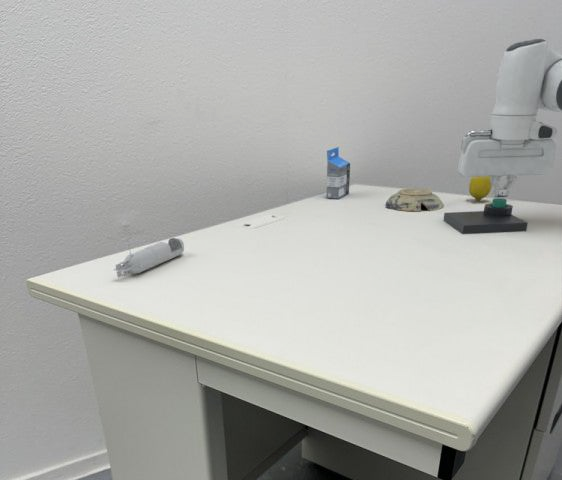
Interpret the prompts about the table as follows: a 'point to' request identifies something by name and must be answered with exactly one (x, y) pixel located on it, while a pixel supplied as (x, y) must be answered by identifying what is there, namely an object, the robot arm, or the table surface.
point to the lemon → (479, 187)
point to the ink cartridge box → (337, 175)
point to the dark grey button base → (486, 220)
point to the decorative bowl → (414, 200)
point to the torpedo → (150, 257)
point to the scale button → (499, 203)
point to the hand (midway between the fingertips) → (499, 196)
